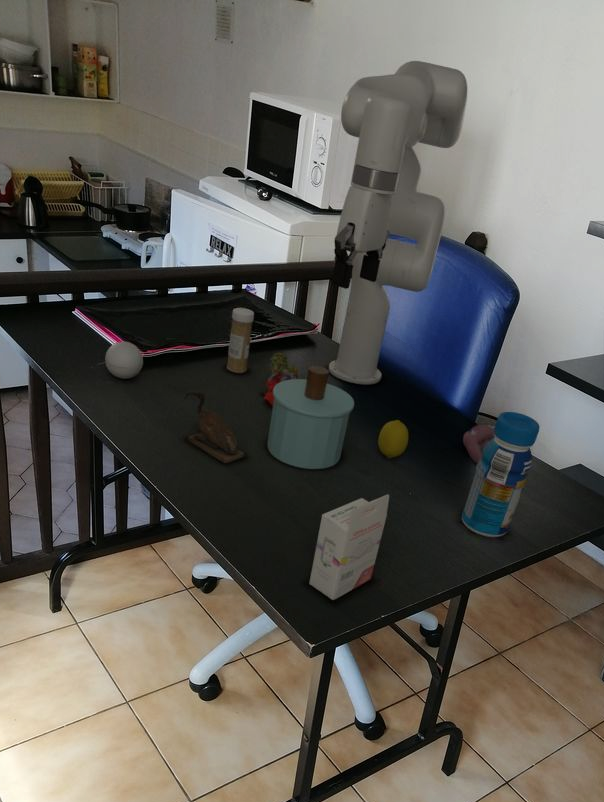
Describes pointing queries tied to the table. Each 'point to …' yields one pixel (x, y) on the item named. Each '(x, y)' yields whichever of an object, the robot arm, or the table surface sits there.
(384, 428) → the lemon
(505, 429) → the beverage bottle
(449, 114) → the robot arm
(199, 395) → the figurine
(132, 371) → the white sphere
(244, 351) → the sprinkles bottle
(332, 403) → the lid
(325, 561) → the ink cartridge box
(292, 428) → the pot
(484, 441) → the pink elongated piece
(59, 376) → the table surface
